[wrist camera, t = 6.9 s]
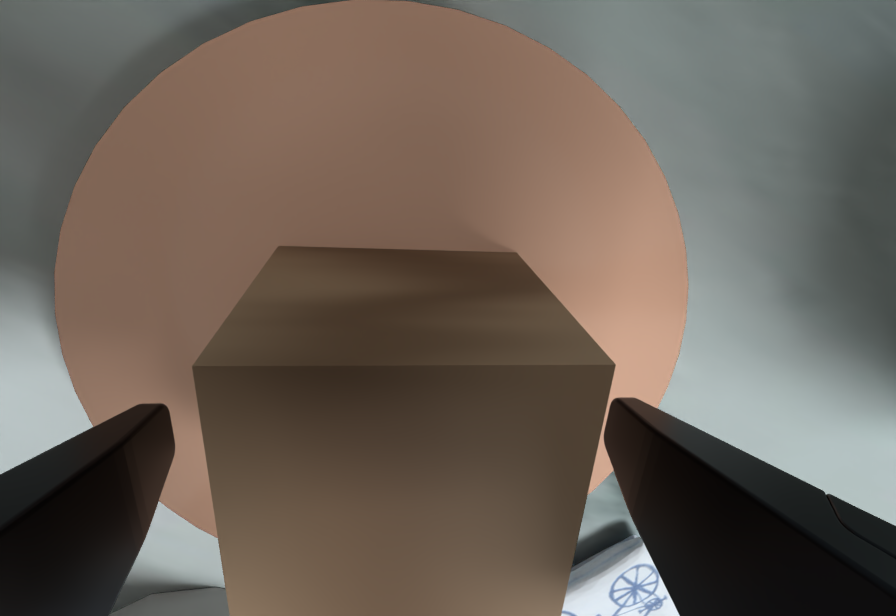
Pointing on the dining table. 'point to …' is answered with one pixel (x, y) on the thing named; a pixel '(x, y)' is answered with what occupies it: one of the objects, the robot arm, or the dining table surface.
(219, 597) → the cup
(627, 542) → the patterned cloth
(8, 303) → the dining table surface
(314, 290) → the walnut block
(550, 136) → the salmon pink disc
